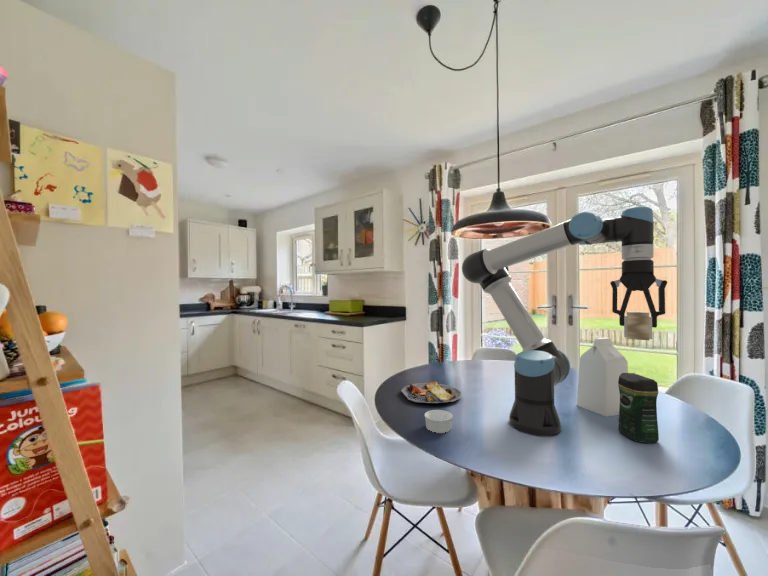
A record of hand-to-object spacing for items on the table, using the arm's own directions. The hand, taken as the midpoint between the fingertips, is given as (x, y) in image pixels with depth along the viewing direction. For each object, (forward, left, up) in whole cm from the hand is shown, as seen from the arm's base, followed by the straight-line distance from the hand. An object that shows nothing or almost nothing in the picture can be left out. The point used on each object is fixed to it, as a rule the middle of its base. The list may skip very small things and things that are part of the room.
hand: (637, 337), depth 96 cm
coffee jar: (0, 0, -30) cm, 30 cm away
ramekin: (-52, -28, -30) cm, 66 cm away
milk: (-9, +21, -30) cm, 38 cm away
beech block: (0, 0, 0) cm, 0 cm away
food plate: (-68, -2, -30) cm, 75 cm away
